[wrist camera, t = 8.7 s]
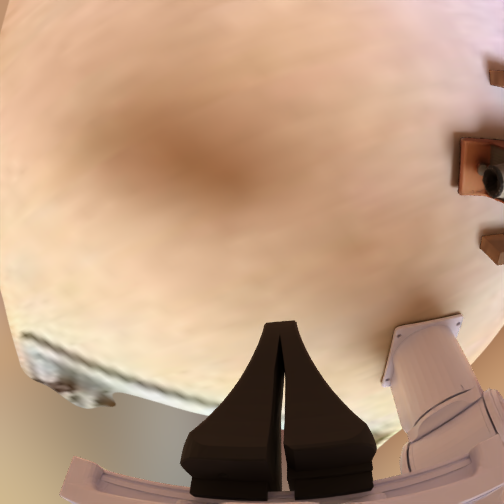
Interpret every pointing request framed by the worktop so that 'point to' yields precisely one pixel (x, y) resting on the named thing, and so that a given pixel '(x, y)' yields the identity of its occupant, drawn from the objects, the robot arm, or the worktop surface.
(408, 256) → the worktop surface
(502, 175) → the electronic device
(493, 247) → the cradle
